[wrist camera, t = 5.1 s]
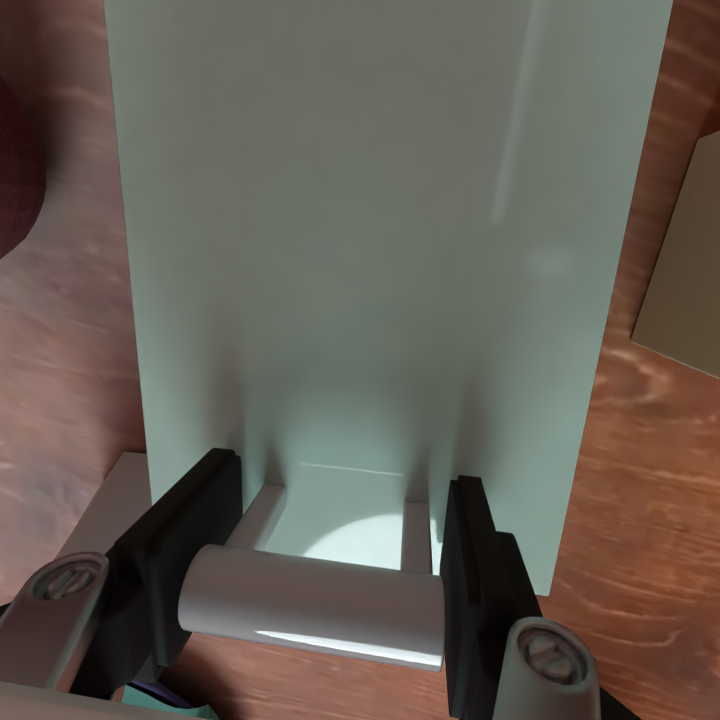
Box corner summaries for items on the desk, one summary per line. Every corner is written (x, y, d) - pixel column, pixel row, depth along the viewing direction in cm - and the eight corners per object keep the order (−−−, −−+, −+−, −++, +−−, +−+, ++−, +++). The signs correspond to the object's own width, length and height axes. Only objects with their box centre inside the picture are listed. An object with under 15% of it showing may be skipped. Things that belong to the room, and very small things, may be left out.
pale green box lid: (541, 576, 12) (622, 786, 7) (169, 525, 14) (33, 675, 9) (671, -77, 8) (1040, -551, 3) (119, -57, 9) (-187, -374, 5)
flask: (206, 578, 24) (68, 794, 15) (94, 532, 24) (-114, 714, 15) (237, 478, 22) (101, 653, 13) (115, 429, 22) (-111, 563, 13)
